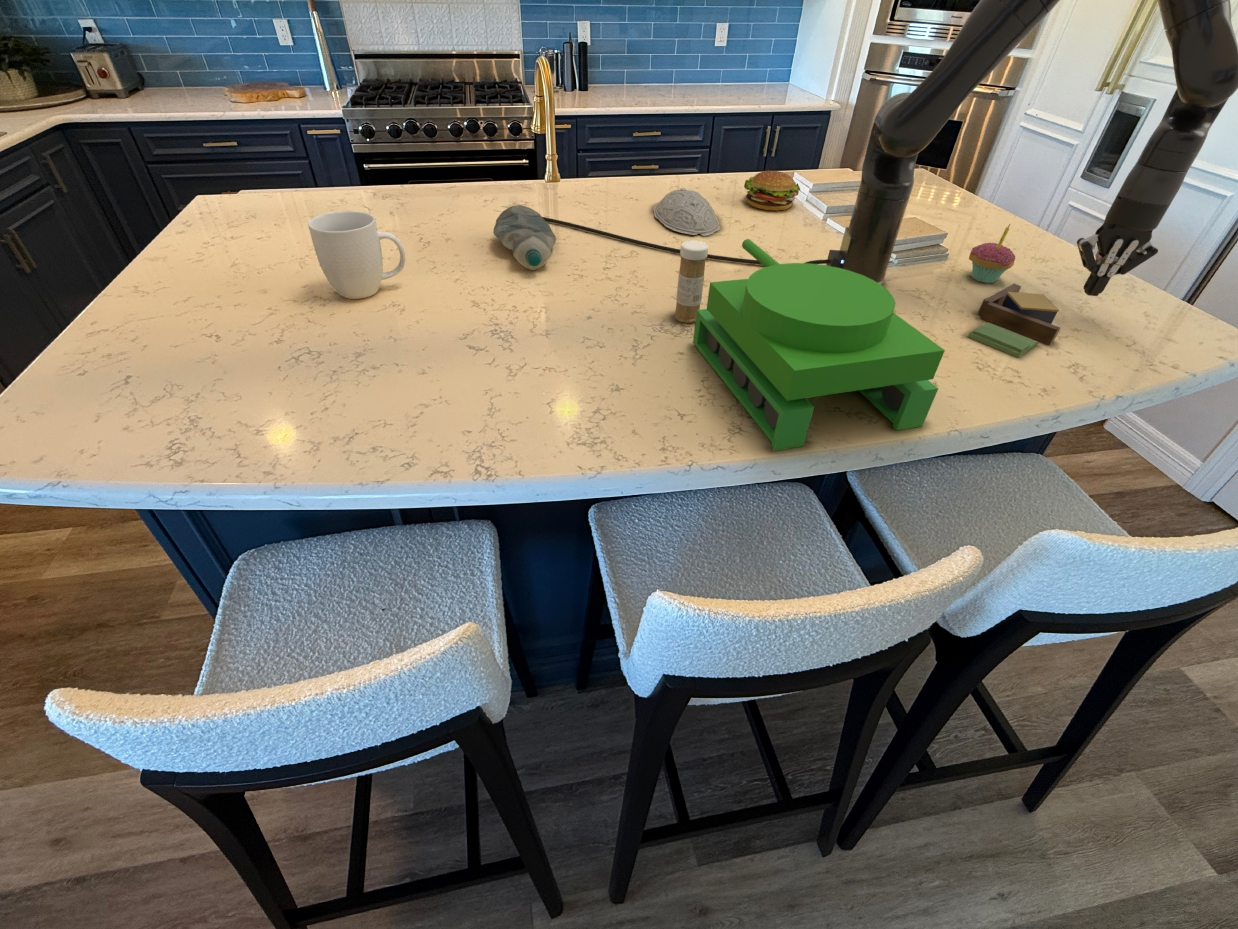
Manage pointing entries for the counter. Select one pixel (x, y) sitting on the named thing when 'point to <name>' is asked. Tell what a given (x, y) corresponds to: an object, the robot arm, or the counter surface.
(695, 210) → the grey turtle shell
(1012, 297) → the tea tin
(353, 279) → the mug
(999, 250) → the cupcake
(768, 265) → the tank
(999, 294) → the corner guide
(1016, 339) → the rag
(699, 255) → the sprinkles bottle
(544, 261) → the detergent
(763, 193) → the food
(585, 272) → the counter surface
